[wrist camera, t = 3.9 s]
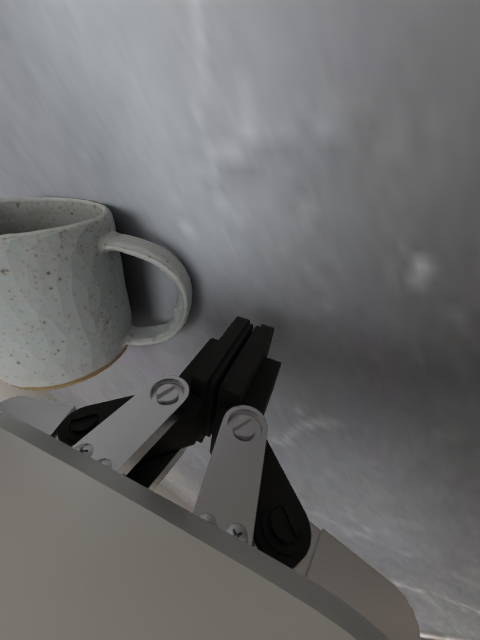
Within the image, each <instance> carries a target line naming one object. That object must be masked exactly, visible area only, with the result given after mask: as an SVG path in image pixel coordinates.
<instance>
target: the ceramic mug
mask: <svg viewBox="0 0 480 640" xmlns="http://www.w3.org/2000/svg"><path fill="white" fill-rule="evenodd" d="M120 252H123V253H125V254H128V255H133V256H135V257H138V258H140V259H143V260H145V261H148V262H150V263H152V264H153V265H155V266H156V267H158V268H159V269H160V270H162V271H163V272H164V273H165V274H166V275H167V276H168V277H169V278H170V279H171V280H172V281H174V282H175V284H176V286H177V287H178V288H179V295H178V302H177V306H176V307H175V308H174V309H173V312H174V318H173V319H172V320H171V321H169V322H168V323H165V324H159V325H157V326H148V327H136V326H133V325H132V314H131V309H130V304H129V300H128V295H127V290H126V286H125V280H124V273H123V266H122V260H121V254H120ZM191 304H192V285H191V280H190V277H189V275H188V273H187V271H186V269H185V267H184V266H183V265H182V264H181V262H180V261H179V260H178V259H177V258H176V257H175V256H174V255H173V254H172V253H170V252H169V251H168V250H166V249H165V248H163V247H162V246H159V245H157V244H155V243H153V242H149V241H147V240H144V239H141V238H138V237H134V236H130V235H126V234H120V233H118V232H116V227H115V223H114V219H113V215H112V212H111V211H110V209H109V208H107V207H106V206H104V205H102V204H99V203H95V202H92V201H88V200H81V199H72V198H46V197H32V198H9V199H0V379H1V380H2V381H4V382H6V383H7V384H10V385H12V386H15V387H17V388H20V389H26V390H34V391H36V390H52V389H58V388H62V387H67V386H70V385H74V384H76V383H79V382H82V381H85V380H87V379H89V378H91V377H93V376H95V375H97V374H99V373H100V372H102V371H104V370H105V369H107V368H108V367H110V366H111V365H112V364H113V363H114V362H115V361H116V360H117V359H118V358H120V357H121V355H122V354H123V353H124V352H125V350H126V349H127V346H128V345H152V344H157V343H160V342H164V341H166V340H169V339H170V338H172V337H173V336H174V335H175V334H177V333H178V332H179V331H180V329H181V328H182V327H183V326H184V324H185V323H186V321H187V318H188V315H189V311H190V308H191Z"/></svg>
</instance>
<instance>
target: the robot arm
mask: <svg viewBox="0 0 480 640" xmlns="http://www.w3.org/2000/svg"><path fill="white" fill-rule="evenodd" d="M252 330H253V324H250V320H248V319H245V318H242V317H237V318H236V319H235V320H234V321H233V323H232V324H231V325H230V327H229V328H228V329H227V330H226V332H225V333H224V334H223V336H222V337H221V338H220V339H219V340H216V339H213V338H212V339H210V340H209V341H208V342H207V343H206V345H205V346H204V347H203V348H202V349H201V351H200V352H199V353H198V354H197V355H196V357H195V358H194V359H193V360H192V361H191V363H190V364H189V365H188V366H187V367H186V369H185V370H184V371H183V372H182V373H181V375H180V376H179V377H177V376H172V375H168V376H162V377H159V378H157V379H155V380H153V381H152V382H151V383H149V384H148V385H147V386H146V387H145V388H143V389H142V390H141V391H140V392H138V393H137V394H136V395H133V396H128V397H124V398H120V399H115V400H111V401H107V402H102V403H98V404H94V405H89V406H85V407H83V408H80V409H76V407H75V405H70V404H65V403H60V402H54V401H49V400H44V399H39V398H34V397H28V396H16V397H12V398H9V399H7V400H4V401H2V402H0V640H420V633H419V626H418V623H417V620H416V617H415V614H414V612H413V609H412V608H411V606H410V604H409V603H408V601H407V599H406V598H405V596H404V595H403V594H402V593H401V592H400V591H399V590H398V589H397V588H396V587H395V585H394V584H392V583H391V582H390V581H389V580H387V579H386V578H385V577H384V576H382V575H381V574H380V573H379V572H377V571H376V570H375V569H374V568H372V567H371V566H370V565H369V564H367V563H366V562H365V561H364V560H362V559H361V558H360V557H358V556H357V555H356V554H355V553H353V552H352V551H351V550H350V549H348V548H347V547H346V546H345V545H343V544H342V543H341V542H340V541H338V540H337V539H336V538H335V537H333V536H332V535H331V534H330V533H328V532H327V531H326V530H325V529H322V530H320V529H319V528H317V527H316V526H315V525H314V524H312V523H311V522H310V521H309V520H308V518H307V515H306V513H305V511H304V509H303V507H302V505H301V503H300V501H299V500H298V498H297V496H296V494H295V492H294V490H293V488H292V486H291V484H290V483H289V481H288V479H287V477H286V475H285V473H284V471H283V469H282V467H281V466H280V464H279V462H278V460H277V458H276V456H275V454H274V452H273V450H272V449H271V447H270V445H269V443H268V441H267V432H268V425H267V422H266V419H265V417H264V413H265V411H266V408H267V405H268V402H269V399H270V397H271V394H272V391H273V388H274V385H275V382H276V379H277V376H278V373H279V369H280V366H281V362H278V361H275V360H272V359H270V358H267V356H268V352H269V348H270V344H271V340H272V336H273V332H274V328H272V327H269V326H266V325H263V324H262V325H261V327H259V326H256V327H255V329H254V330H253V332H252ZM211 434H212V439H211V447H210V453H211V458H210V461H209V464H208V467H207V470H206V473H205V476H204V479H203V483H202V486H201V489H200V492H199V495H198V498H197V501H196V504H195V507H194V511H193V513H191V512H190V511H188V510H186V509H184V508H182V507H180V506H179V505H177V504H175V503H173V502H171V501H170V500H168V499H166V498H164V497H162V496H160V495H159V494H157V493H155V492H153V491H154V490H155V489H156V487H157V486H158V485H159V484H160V482H161V481H162V480H163V479H164V477H165V476H166V475H167V474H168V472H169V471H170V470H171V468H172V467H173V466H174V465H175V463H176V462H177V461H178V460H179V458H180V457H181V456H182V455H183V453H184V452H185V450H186V448H187V447H188V446H191V445H194V444H195V442H196V441H198V442H200V443H202V441H203V439H204V437H205V436H208V437H210V436H211Z"/></svg>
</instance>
